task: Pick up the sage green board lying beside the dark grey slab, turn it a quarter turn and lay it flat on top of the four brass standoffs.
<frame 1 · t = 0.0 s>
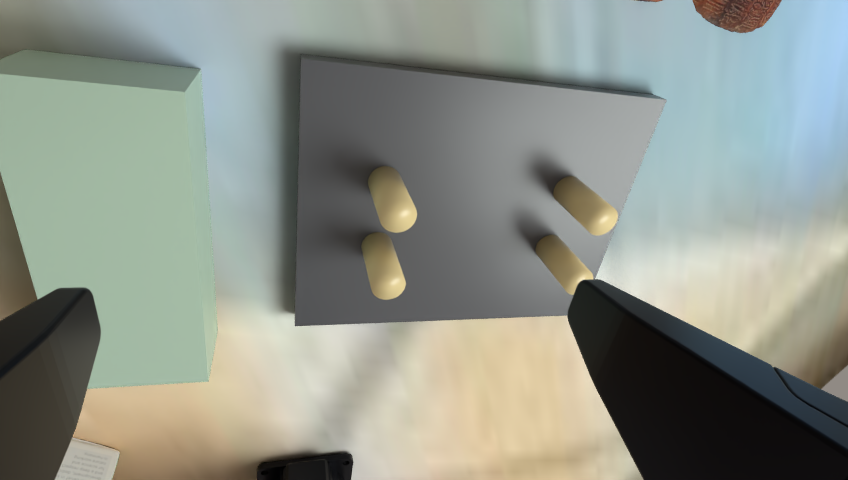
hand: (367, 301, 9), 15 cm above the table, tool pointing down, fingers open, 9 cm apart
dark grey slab: (468, 208, 26), on the table
board: (141, 214, 22), on the table
syrup box: (53, 461, 29), on the table
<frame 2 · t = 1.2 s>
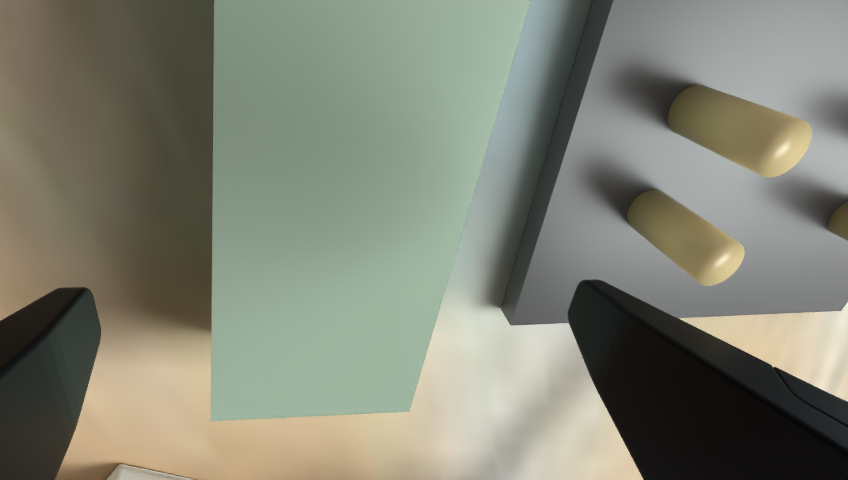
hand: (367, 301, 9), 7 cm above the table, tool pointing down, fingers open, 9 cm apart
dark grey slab: (756, 159, 18), on the table
board: (334, 156, 15), on the table
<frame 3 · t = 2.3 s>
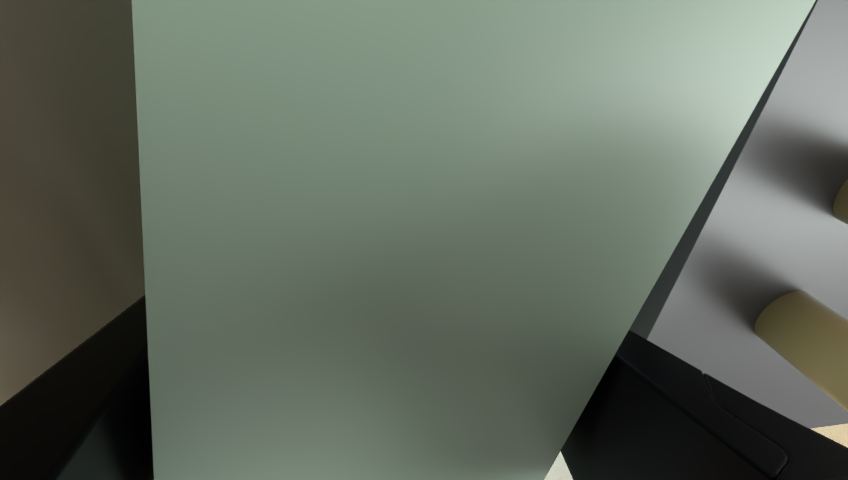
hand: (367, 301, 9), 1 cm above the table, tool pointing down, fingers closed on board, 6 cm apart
board: (360, 266, 10), on the table, touching gripper
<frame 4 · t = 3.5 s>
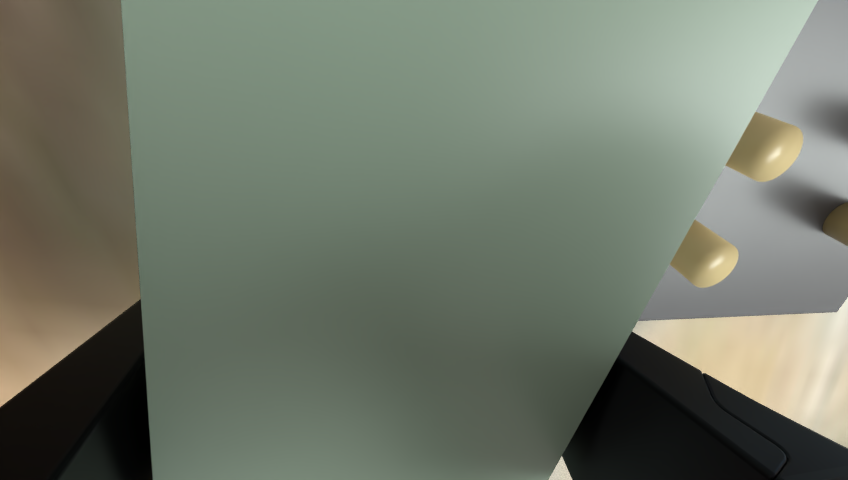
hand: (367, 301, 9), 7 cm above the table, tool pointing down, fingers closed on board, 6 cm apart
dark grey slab: (751, 163, 19), on the table
board: (360, 267, 10), point 6 cm above the table, touching gripper
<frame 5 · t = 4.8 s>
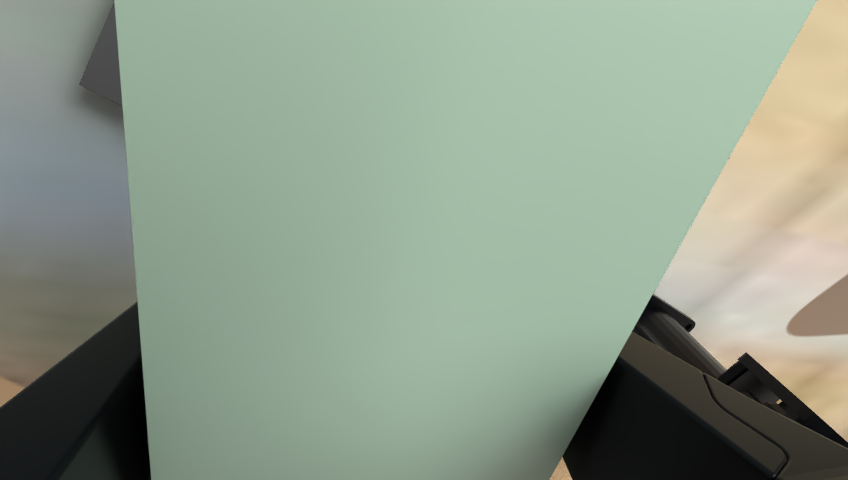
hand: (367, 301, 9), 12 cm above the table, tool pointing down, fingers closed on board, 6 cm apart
board: (360, 268, 10), point 10 cm above the table, touching gripper
when the fingers open (7 cm above the table, at t = 6.6 s): board drops 1 cm, resting on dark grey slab.
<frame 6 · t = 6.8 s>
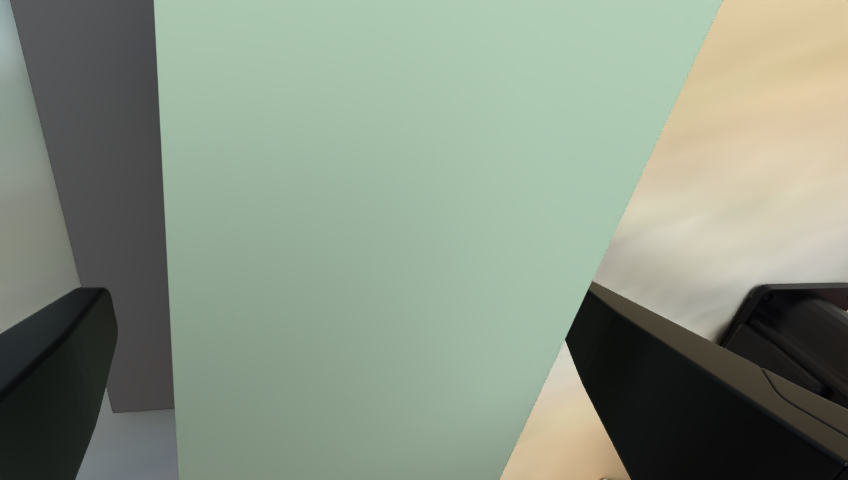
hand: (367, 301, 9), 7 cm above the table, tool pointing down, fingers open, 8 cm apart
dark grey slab: (336, 164, 14), on the table
board: (356, 239, 11), point 4 cm above the table, touching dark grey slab
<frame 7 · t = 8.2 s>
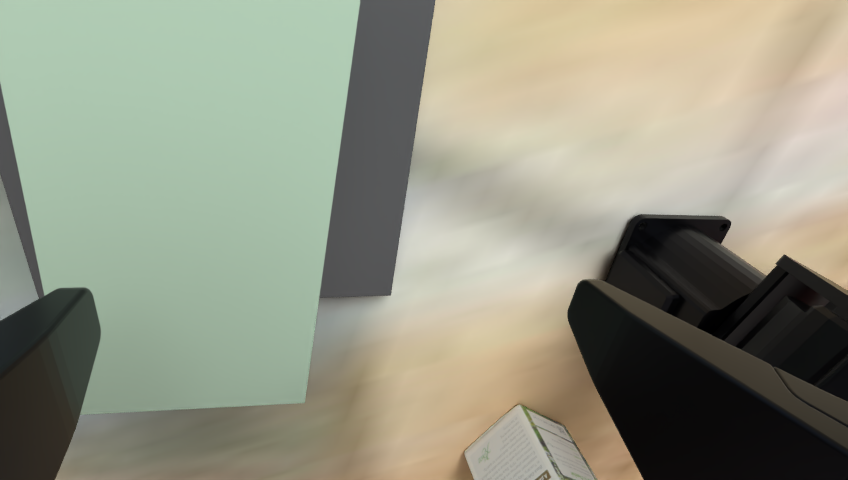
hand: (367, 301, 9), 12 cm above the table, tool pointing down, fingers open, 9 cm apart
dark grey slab: (224, 84, 17), on the table
board: (212, 122, 13), point 4 cm above the table, touching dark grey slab
syrup box: (514, 434, 34), on the table
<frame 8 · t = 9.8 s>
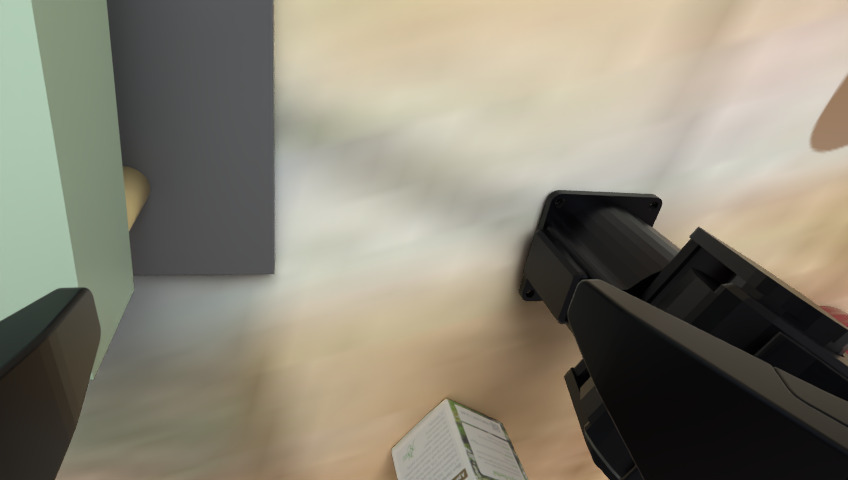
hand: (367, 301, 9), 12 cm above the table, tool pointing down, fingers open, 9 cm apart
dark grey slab: (47, 29, 15), on the table
syrup box: (447, 431, 32), on the table
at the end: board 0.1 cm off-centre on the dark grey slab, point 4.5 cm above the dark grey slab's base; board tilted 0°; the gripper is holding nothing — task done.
